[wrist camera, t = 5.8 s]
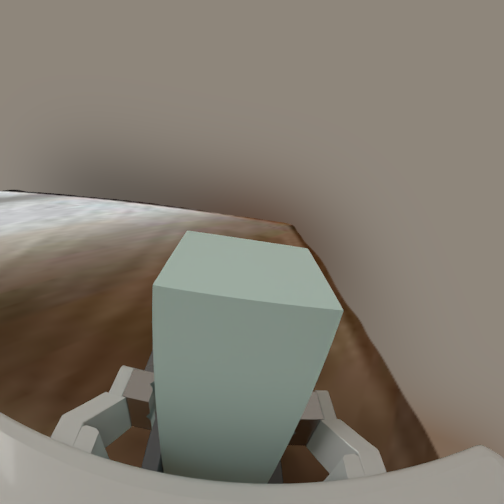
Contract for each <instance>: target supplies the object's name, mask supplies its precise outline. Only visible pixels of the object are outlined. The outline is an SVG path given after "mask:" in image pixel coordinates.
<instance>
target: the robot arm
mask: <svg viewBox="0 0 504 504" xmlns="http://www.w3.org/2000/svg"><path fill="white" fill-rule="evenodd" d="M155 411H156V398H155V383H154V373H153V372H149V371H144V370H140V369H136V368H131V367H128V366H124V365H123V366H122V367H121V368H120V370H119V372H118V374H117V376H116V378H115V380H114V383H113V385H112V387H111V389H110V391H109V393H108V392H104V393H103V394H101V395H99V396H97V397H95V398H94V399H92V400H90V401H88V402H86V403H84V404H82V405H81V406H79V407H77V408H75V409H73V410H71V411H69V412H67V413H66V414H64V415H62V416H61V418H60V420H59V422H58V424H57V426H56V428H55V430H54V432H53V434H52V436H51V438H50V437H48V436H46V435H43V434H41V433H39V432H37V431H35V430H33V429H31V428H29V427H27V426H25V425H23V424H21V423H19V422H17V421H15V420H13V419H12V418H10V417H8V416H6V415H4V414H3V413H1V412H0V504H504V458H503V457H502V456H501V455H499V454H498V453H496V452H494V451H493V450H491V449H489V448H488V447H485V446H483V445H477V446H474V447H472V448H469V449H466V450H463V451H461V452H458V453H455V454H452V455H449V456H447V457H443V458H440V459H437V460H434V461H430V462H427V463H424V464H420V465H416V466H412V467H408V468H404V469H400V470H396V471H391V472H386V469H385V467H384V464H383V461H382V458H381V456H380V453H379V450H378V449H376V448H375V447H374V446H373V445H371V444H370V443H369V442H367V441H366V440H365V439H364V438H362V437H361V436H360V435H359V434H358V433H356V432H355V431H354V430H353V429H351V428H350V427H349V426H348V425H347V424H345V423H344V422H343V421H342V420H340V419H337V418H336V415H335V411H334V408H333V405H332V402H331V399H330V396H329V393H328V391H321V390H315V391H314V390H313V391H312V394H311V396H310V398H309V401H308V403H307V405H306V407H305V410H304V412H303V414H302V416H301V418H300V420H299V423H298V425H297V427H296V429H295V431H294V433H293V435H292V437H291V439H290V441H289V443H288V445H306V447H307V448H308V449H309V450H310V452H311V453H312V454H313V455H314V456H315V457H316V459H317V460H318V461H319V462H320V463H321V464H322V465H323V467H324V468H325V469H326V470H327V471H328V472H329V473H330V474H329V475H328V477H327V478H326V479H325V480H324V481H323V482H312V483H291V484H258V483H237V482H224V481H213V480H205V479H197V478H190V477H183V476H177V475H172V474H166V473H161V472H156V471H152V470H147V469H143V468H139V467H135V466H131V465H127V464H123V463H120V462H116V461H113V460H110V459H109V457H108V455H107V452H106V450H105V448H106V447H107V446H108V445H110V444H111V443H112V442H113V441H115V440H116V439H117V438H118V437H120V436H121V435H122V434H123V433H125V432H126V431H127V430H128V429H129V428H131V426H134V427H139V428H144V429H149V430H152V428H153V424H154V421H155Z"/></svg>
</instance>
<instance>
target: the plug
mask: <svg viewBox="0 0 504 504" xmlns="http://www.w3.org/2000/svg"><path fill="white" fill-rule="evenodd" d="M343 311H344V310H343V309H342V307H341V305H340V303H339V301H338V300H337V298H336V296H335V294H334V293H333V291H332V289H331V287H330V286H329V284H328V282H327V280H326V279H325V277H324V275H323V274H322V272H321V270H320V268H319V267H318V265H317V263H316V262H315V260H314V258H313V257H312V255H311V253H310V252H309V250H308V249H307V248H301V247H294V246H288V245H281V244H275V243H268V242H262V241H255V240H248V239H242V238H235V237H228V236H221V235H215V234H208V233H201V232H194V231H187V232H186V233H185V235H184V236H183V238H182V239H181V241H180V242H179V244H178V246H177V247H176V249H175V250H174V252H173V253H172V255H171V256H170V258H169V260H168V261H167V263H166V264H165V266H164V268H163V269H162V271H161V272H160V274H159V276H158V277H157V279H156V280H155V282H154V284H153V298H152V328H153V364H154V383H155V398H156V411H157V421H158V431H159V440H160V449H161V456H162V464H163V471H164V473H166V474H172V475H177V476H183V477H190V478H197V479H205V480H213V481H224V482H237V483H258V484H267V483H268V481H269V480H270V478H271V476H272V474H273V472H274V470H275V469H276V467H277V465H278V463H279V461H280V459H281V457H282V455H283V453H284V451H285V449H286V447H287V445H288V443H289V441H290V439H291V437H292V435H293V433H294V431H295V429H296V427H297V425H298V423H299V420H300V418H301V416H302V414H303V412H304V410H305V407H306V405H307V403H308V401H309V398H310V396H311V394H312V391H313V389H314V387H315V384H316V382H317V380H318V377H319V375H320V372H321V370H322V367H323V365H324V362H325V360H326V357H327V355H328V352H329V349H330V347H331V344H332V341H333V339H334V336H335V333H336V330H337V328H338V325H339V322H340V319H341V316H342V313H343Z"/></svg>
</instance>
